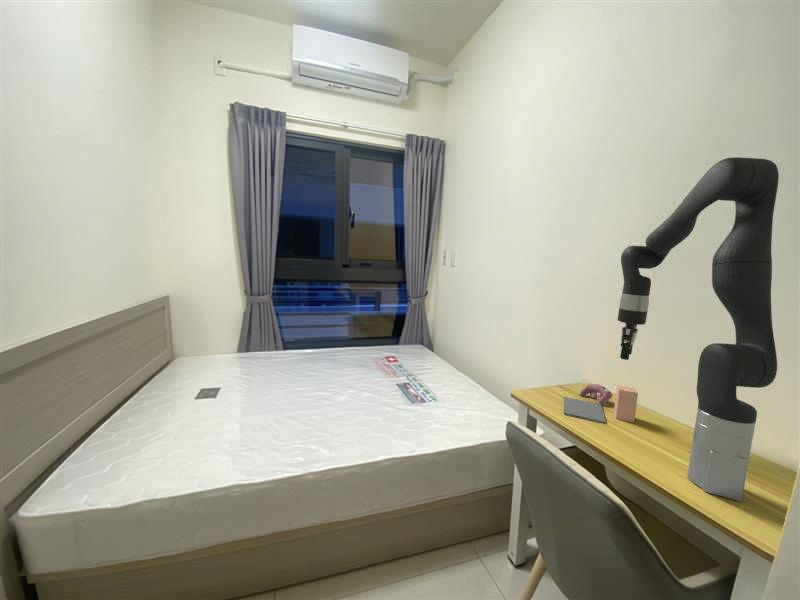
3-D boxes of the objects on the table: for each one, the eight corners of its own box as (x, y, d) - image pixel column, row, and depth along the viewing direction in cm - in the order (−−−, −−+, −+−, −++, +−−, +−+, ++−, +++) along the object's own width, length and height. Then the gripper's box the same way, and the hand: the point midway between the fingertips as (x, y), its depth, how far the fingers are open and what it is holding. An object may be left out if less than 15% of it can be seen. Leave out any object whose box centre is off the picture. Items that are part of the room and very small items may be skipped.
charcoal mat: (605, 423, 102) (606, 422, 102) (563, 414, 107) (564, 412, 107) (600, 405, 116) (600, 403, 116) (563, 398, 122) (563, 396, 122)
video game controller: (607, 409, 117) (616, 392, 117) (599, 404, 116) (608, 387, 116) (585, 398, 127) (593, 382, 127) (577, 394, 125) (585, 378, 125)
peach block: (634, 422, 104) (638, 393, 103) (615, 418, 106) (619, 389, 105) (631, 416, 109) (634, 388, 107) (613, 412, 111) (617, 385, 110)
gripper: (646, 312, 96) (637, 364, 98) (649, 307, 107) (641, 354, 109) (616, 308, 101) (609, 358, 103) (622, 304, 111) (615, 349, 114)
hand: (625, 356), depth 106 cm, fingers open, 8 cm apart
